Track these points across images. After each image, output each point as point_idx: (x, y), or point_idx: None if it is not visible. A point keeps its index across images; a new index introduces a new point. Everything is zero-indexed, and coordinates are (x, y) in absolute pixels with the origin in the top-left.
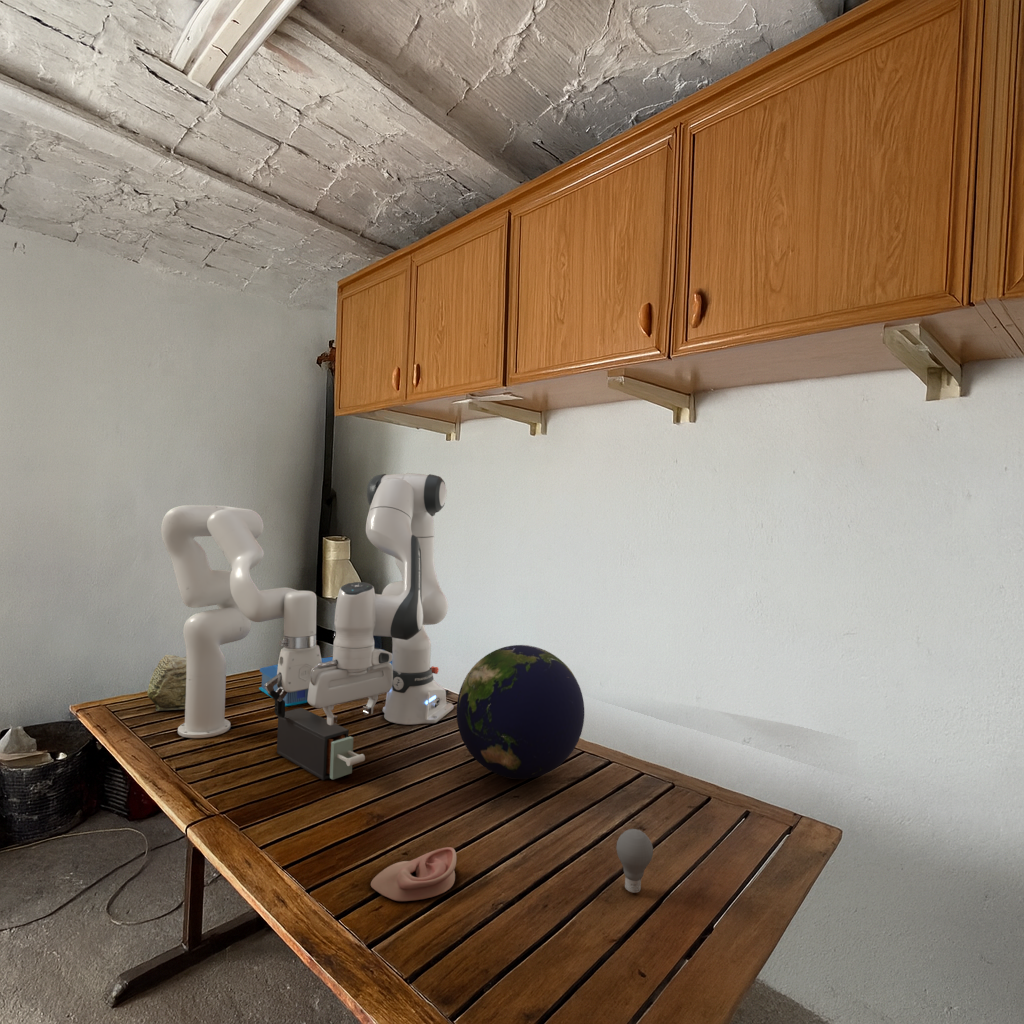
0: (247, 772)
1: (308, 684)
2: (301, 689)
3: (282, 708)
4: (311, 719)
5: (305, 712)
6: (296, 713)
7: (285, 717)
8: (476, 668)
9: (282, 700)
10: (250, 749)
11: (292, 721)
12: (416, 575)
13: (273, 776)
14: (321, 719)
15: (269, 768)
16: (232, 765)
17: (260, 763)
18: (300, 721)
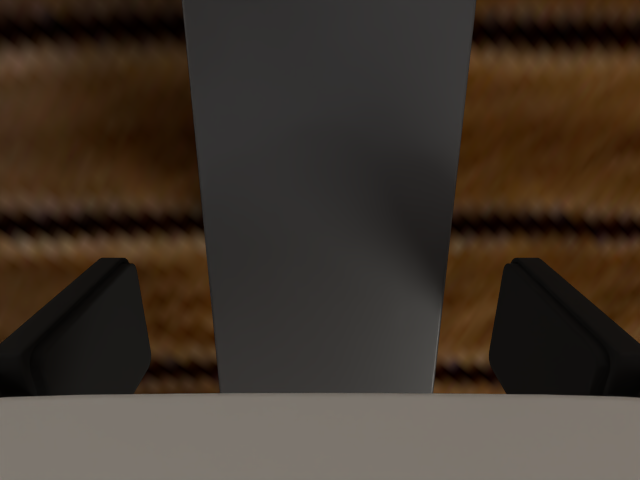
0: (605, 167)
1: (212, 465)
2: (419, 395)
3: (587, 302)
4: (307, 87)
5: (252, 296)
6: (326, 321)
7: (441, 305)
8: None
9: (622, 388)
10: (441, 377)
11: (451, 189)
12: None
13: (561, 30)
14: (224, 11)
15: (512, 138)
16: (594, 280)
17: (503, 220)
18: (423, 108)
